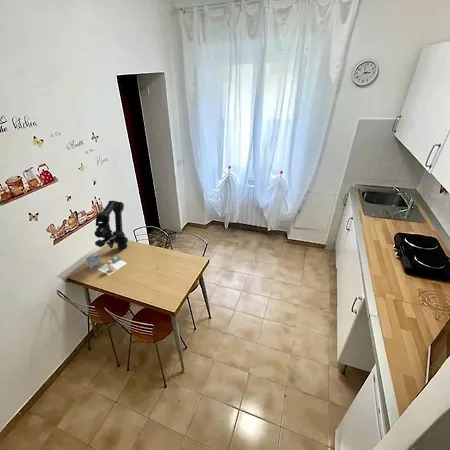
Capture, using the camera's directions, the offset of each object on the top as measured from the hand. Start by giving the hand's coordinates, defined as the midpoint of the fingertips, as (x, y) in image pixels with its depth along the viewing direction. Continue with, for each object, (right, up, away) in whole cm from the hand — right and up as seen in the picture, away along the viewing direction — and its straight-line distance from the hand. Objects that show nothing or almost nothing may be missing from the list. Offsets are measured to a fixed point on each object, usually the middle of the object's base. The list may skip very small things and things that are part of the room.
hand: (111, 248), depth 187 cm
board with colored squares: (+1, -14, 0) cm, 14 cm away
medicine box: (-13, -13, +2) cm, 19 cm away
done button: (0, -10, +5) cm, 11 cm away
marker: (+2, -16, -5) cm, 16 cm away
